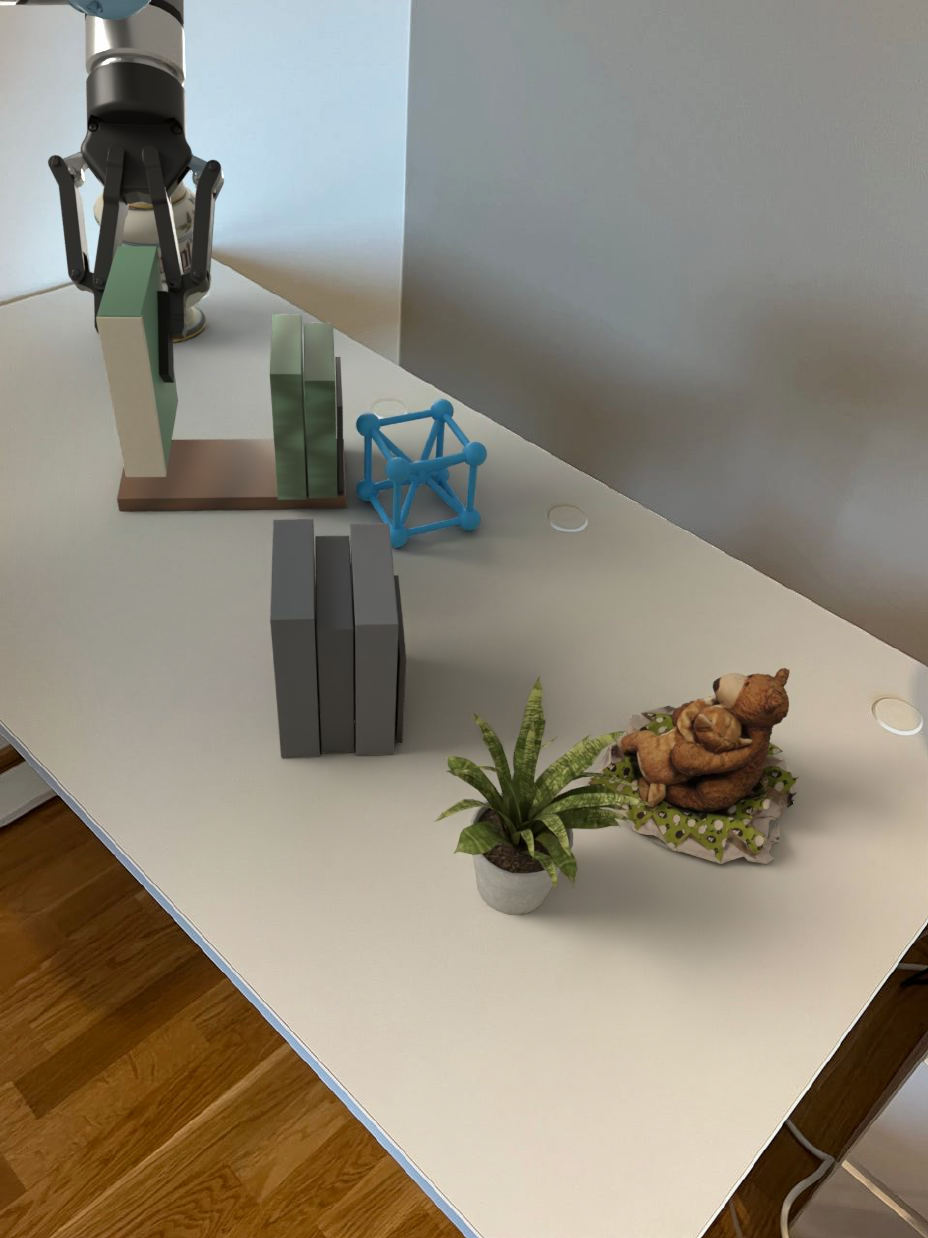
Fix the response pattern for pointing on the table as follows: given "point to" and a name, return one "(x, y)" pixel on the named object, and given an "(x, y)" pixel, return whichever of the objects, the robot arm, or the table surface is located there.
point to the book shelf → (265, 441)
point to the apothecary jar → (144, 233)
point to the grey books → (336, 640)
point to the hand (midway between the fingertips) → (142, 377)
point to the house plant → (531, 812)
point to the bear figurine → (708, 770)
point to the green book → (137, 361)
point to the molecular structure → (419, 471)
